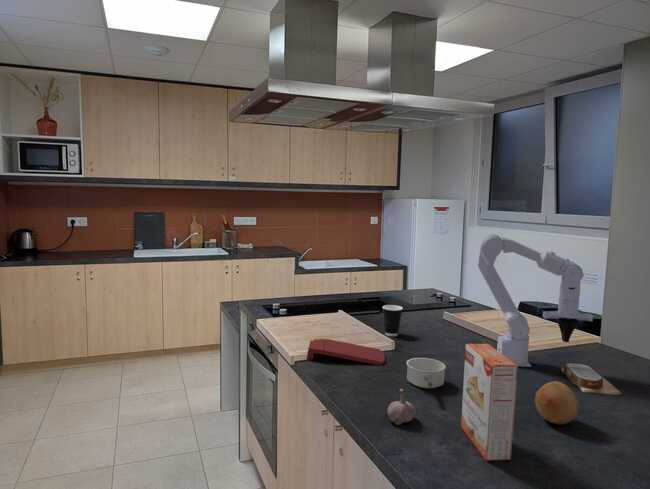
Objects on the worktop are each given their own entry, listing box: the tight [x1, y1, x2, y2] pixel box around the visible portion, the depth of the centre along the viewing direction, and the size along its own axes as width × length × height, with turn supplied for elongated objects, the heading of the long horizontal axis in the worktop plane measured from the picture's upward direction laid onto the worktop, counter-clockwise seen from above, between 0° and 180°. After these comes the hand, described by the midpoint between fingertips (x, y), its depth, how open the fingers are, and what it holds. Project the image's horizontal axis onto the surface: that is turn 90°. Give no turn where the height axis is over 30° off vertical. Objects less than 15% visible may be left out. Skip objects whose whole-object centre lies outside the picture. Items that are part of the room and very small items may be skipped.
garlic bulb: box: [386, 388, 416, 426], centre depth 113 cm, size 8×7×8 cm
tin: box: [563, 362, 604, 389], centre depth 141 cm, size 15×3×8 cm
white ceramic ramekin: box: [405, 357, 447, 389], centre depth 132 cm, size 12×20×6 cm, turn 172°
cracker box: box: [460, 343, 519, 462], centre depth 102 cm, size 14×6×21 cm, turn 5°
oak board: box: [560, 367, 622, 396], centre depth 141 cm, size 10×17×1 cm, turn 173°
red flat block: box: [306, 338, 386, 366], centre depth 156 cm, size 12×5×26 cm
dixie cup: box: [382, 304, 404, 337], centre depth 183 cm, size 8×8×11 cm
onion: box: [534, 380, 580, 425], centre depth 114 cm, size 10×10×10 cm
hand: (565, 341), depth 150 cm, fingers closed
